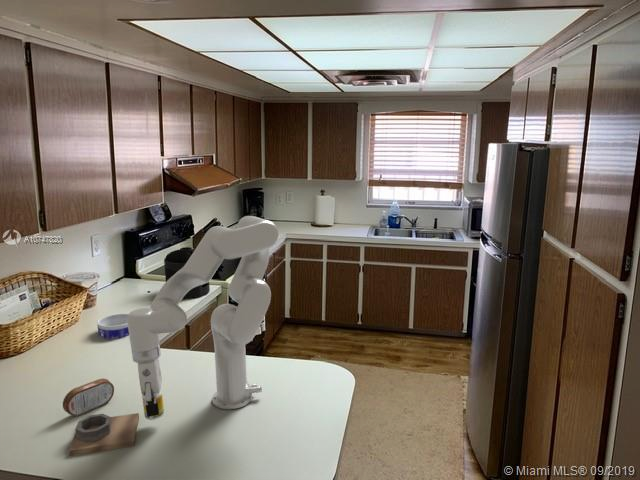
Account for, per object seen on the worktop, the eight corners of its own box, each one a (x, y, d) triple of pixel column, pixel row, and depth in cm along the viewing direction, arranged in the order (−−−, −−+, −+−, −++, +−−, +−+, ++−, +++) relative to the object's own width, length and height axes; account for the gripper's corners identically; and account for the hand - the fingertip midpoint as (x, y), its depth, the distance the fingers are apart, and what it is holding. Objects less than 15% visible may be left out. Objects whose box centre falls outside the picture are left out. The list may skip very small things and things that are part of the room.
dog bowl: (144, 329, 211) (142, 316, 209) (115, 342, 197) (113, 328, 196) (120, 323, 218) (118, 311, 216) (90, 335, 204) (89, 322, 203)
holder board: (139, 417, 143) (137, 403, 142) (133, 445, 130) (132, 431, 129) (81, 425, 139) (79, 411, 138) (69, 455, 126) (67, 440, 125)
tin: (111, 397, 155) (109, 373, 153) (116, 400, 153) (114, 376, 151) (63, 418, 143) (60, 392, 142) (68, 421, 141) (65, 396, 140)
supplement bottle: (142, 420, 136) (137, 390, 134) (148, 410, 141) (144, 380, 139) (160, 420, 136) (156, 390, 134) (166, 409, 141) (163, 380, 139)
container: (169, 288, 269) (166, 244, 264) (210, 285, 273) (208, 243, 268) (164, 300, 248) (160, 254, 243) (208, 297, 252) (206, 252, 247)
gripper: (158, 363, 127) (166, 424, 131) (161, 337, 143) (168, 392, 147) (128, 368, 125) (137, 429, 129) (135, 341, 141) (143, 396, 145)
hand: (153, 408), depth 138 cm, fingers closed on supplement bottle, 5 cm apart
